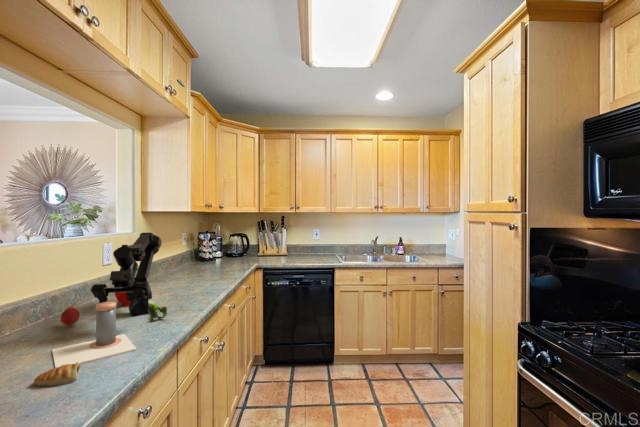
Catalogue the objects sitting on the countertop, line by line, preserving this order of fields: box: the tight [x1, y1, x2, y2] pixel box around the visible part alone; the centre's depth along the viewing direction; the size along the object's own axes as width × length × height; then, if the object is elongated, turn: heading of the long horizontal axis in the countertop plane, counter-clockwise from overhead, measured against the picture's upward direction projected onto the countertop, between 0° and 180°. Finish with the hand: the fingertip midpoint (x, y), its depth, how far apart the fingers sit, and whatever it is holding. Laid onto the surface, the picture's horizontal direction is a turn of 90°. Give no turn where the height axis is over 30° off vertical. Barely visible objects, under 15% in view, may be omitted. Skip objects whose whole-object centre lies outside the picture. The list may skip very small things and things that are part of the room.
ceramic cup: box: [114, 292, 131, 307], centre depth 155 cm, size 13×17×10 cm
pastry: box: [33, 362, 82, 387], centre depth 84 cm, size 9×7×4 cm
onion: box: [60, 304, 81, 327], centre depth 124 cm, size 6×6×8 cm
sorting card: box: [51, 333, 137, 368], centre depth 102 cm, size 20×17×1 cm
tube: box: [95, 301, 118, 346], centre depth 107 cm, size 6×6×13 cm
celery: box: [148, 300, 168, 317], centre depth 141 cm, size 6×7×30 cm
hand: (115, 310), depth 114 cm, fingers open, 9 cm apart
